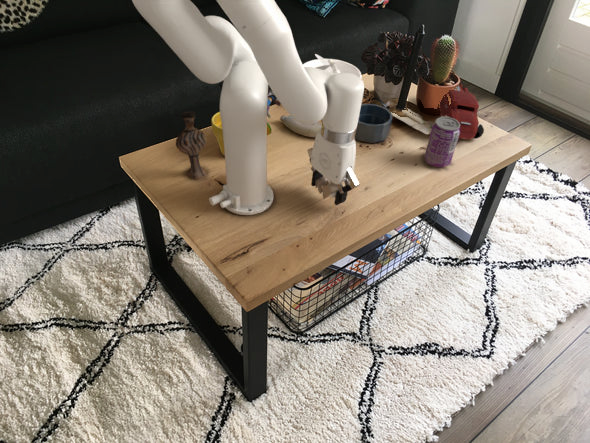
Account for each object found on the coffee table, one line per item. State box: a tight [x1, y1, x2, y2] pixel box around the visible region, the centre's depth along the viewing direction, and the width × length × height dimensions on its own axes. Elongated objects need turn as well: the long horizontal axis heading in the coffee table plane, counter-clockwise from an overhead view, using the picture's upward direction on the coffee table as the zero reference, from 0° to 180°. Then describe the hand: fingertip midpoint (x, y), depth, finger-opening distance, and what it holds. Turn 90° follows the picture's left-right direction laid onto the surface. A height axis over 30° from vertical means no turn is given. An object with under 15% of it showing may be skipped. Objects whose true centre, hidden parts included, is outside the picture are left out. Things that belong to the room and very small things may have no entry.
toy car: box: [436, 83, 485, 140], centre depth 148 cm, size 15×28×10 cm, turn 177°
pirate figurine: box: [267, 89, 282, 137], centre depth 138 cm, size 14×13×15 cm
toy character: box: [314, 176, 338, 200], centre depth 119 cm, size 4×8×6 cm
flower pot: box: [211, 111, 225, 156], centre depth 132 cm, size 10×10×10 cm
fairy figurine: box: [314, 53, 340, 73], centre depth 151 cm, size 6×7×7 cm
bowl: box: [302, 58, 363, 79], centre depth 156 cm, size 19×20×8 cm
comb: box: [390, 107, 435, 135], centre depth 148 cm, size 15×2×10 cm
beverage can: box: [423, 116, 460, 168], centre depth 132 cm, size 7×7×12 cm
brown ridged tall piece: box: [175, 110, 207, 180], centre depth 122 cm, size 7×5×18 cm
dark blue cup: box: [355, 103, 393, 144], centre depth 143 cm, size 12×12×6 cm
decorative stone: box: [279, 115, 322, 138], centre depth 143 cm, size 6×16×3 cm, turn 60°
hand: (328, 192), depth 121 cm, fingers closed on toy character, 7 cm apart
